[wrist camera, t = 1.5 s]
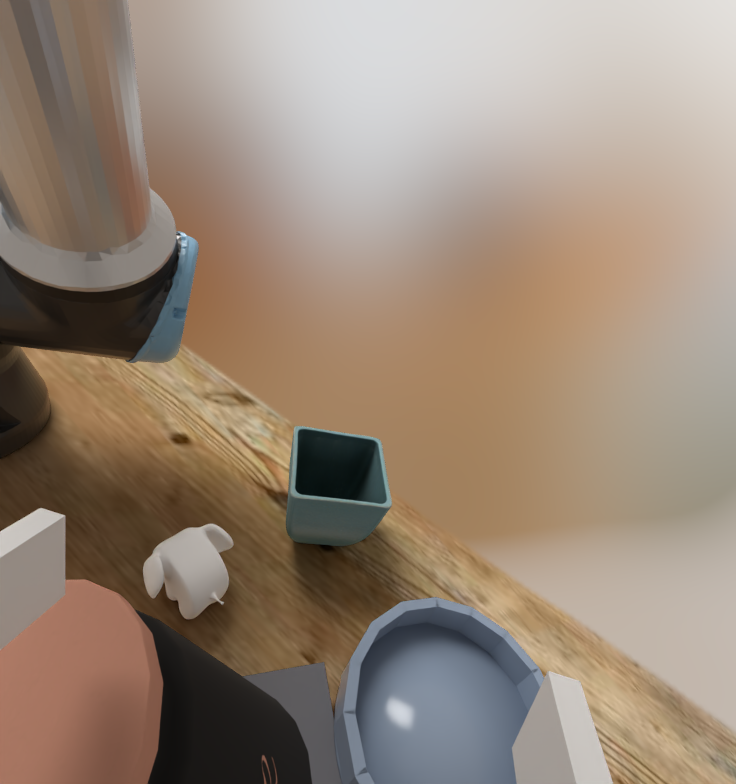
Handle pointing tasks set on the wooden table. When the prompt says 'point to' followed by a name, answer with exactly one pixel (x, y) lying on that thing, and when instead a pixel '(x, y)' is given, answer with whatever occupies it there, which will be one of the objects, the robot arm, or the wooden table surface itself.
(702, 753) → the wooden table surface
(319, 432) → the flower pot
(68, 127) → the robot arm
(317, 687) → the mat
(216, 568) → the elephant figurine
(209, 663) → the coffee jar
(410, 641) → the bowl
